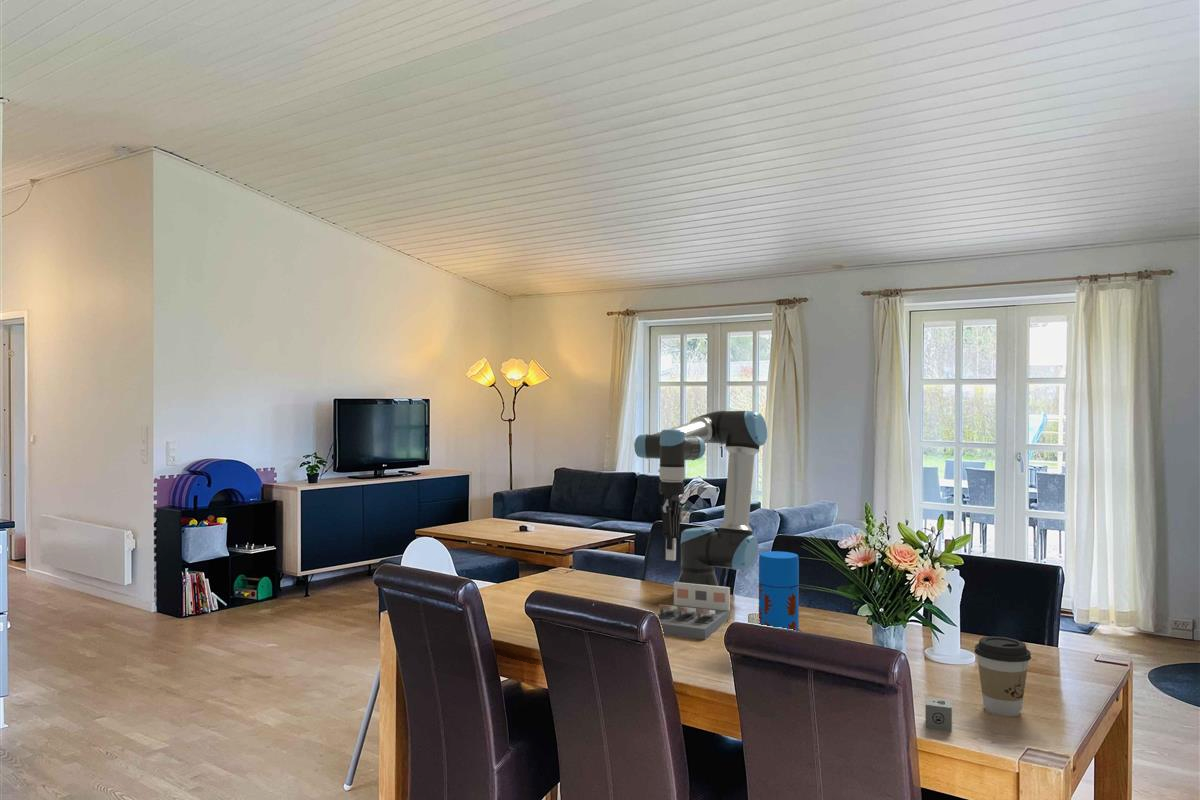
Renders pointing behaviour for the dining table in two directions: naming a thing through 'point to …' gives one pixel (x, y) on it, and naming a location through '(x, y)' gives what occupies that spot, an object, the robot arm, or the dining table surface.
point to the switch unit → (699, 599)
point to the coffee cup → (1002, 674)
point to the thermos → (779, 589)
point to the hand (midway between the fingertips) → (670, 559)
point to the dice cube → (939, 714)
